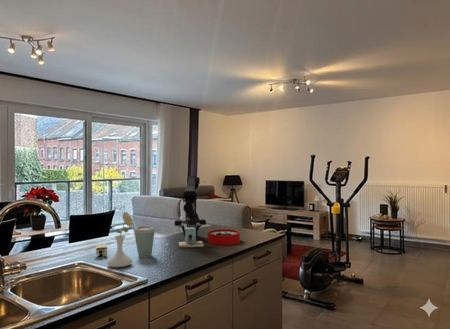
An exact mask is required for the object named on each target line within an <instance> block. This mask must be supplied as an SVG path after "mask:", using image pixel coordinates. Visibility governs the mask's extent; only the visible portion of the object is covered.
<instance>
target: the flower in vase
mask: <svg viewBox="0 0 450 329" xmlns="http://www.w3.org/2000/svg"><path fill="white" fill-rule="evenodd" d="M122 220H123V222H124V223H123V224H122V228H121V230H119V229H116V233H117V234H119V235H114V236H113V237H114V239H115V241H116V244H117V245H116V247H117V249H116V252H115V254H114V255H112V256H111V258H109V259H108V260H107V263H106V264H107V266H109V267H111V268H124V267H127V266H129V265H132V263H133V259H132V258H131V257H130V256H129V255H127V254H126V253H124V250H123V244H124V243H123V242H124V239H125V237H126V235H123V232H125V233H128V232H129V228H130V227H133V226H134V225H135V224H134V219H133V218H132V215H131V214H129V212H127V211H124V212H123V213H122ZM125 225H126V226H128V227H129V228H128V227H126V226H125Z"/></svg>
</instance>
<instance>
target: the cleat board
mask: <svg viewBox="0 0 450 329" xmlns="http://www.w3.org/2000/svg"><path fill="white" fill-rule="evenodd" d="M178 245H179V246H178V247H179V248H181V249H182V248H195V247H201V248H202V247H205V244H204V243H203V241H202V240H198V241H197V240H196V241H193V240H192V237H188V241H179V242H178Z"/></svg>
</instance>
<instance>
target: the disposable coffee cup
mask: <svg viewBox="0 0 450 329" xmlns="http://www.w3.org/2000/svg"><path fill="white" fill-rule="evenodd" d="M155 232H156V230H155V228H154V227H153V226H151V225H140V226H136V227H134V230H133V233H134V237H135V238H134V239H135V243H136V249H137V254H138V258H142V257H143V258H149V257H151V256H152V253H153V246H154V238H155Z"/></svg>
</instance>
